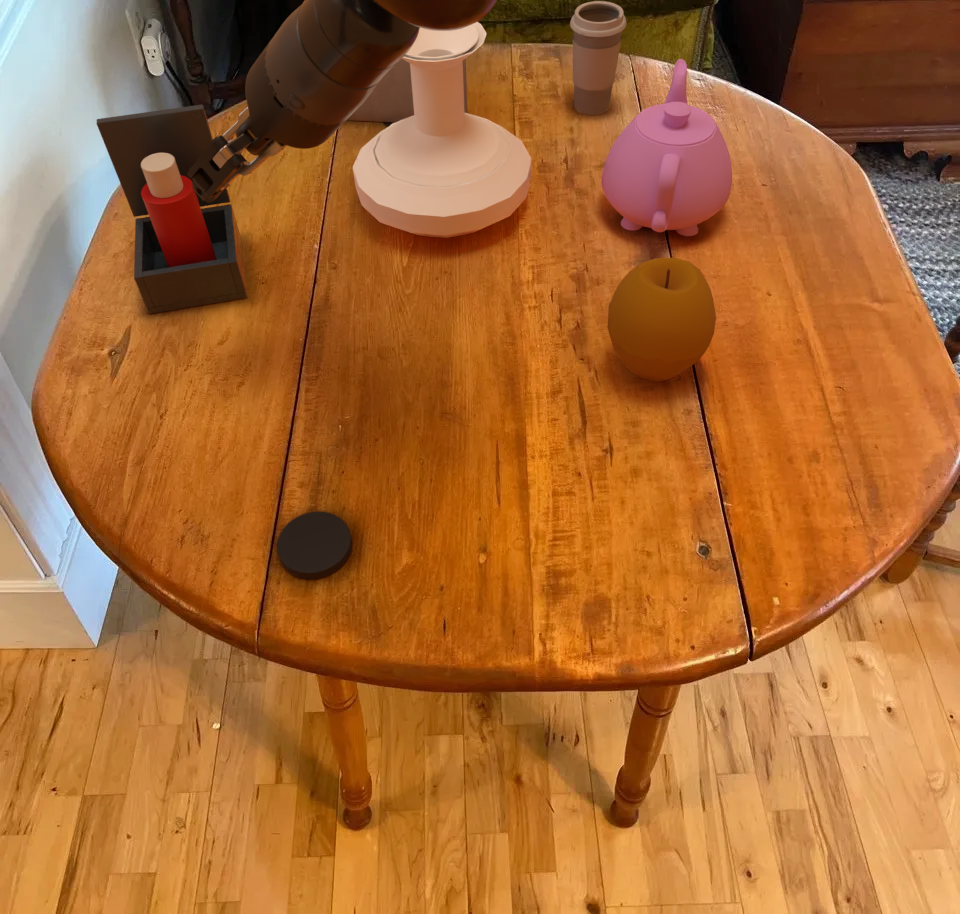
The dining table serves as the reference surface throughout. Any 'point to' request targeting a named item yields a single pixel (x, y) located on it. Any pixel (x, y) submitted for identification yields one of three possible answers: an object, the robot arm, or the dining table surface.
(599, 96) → the cup
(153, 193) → the sauce bottle
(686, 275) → the apple
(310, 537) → the black coaster
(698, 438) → the dining table surface
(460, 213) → the candle holder
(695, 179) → the teapot
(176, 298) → the box
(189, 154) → the box lid
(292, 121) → the robot arm
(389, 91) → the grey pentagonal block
